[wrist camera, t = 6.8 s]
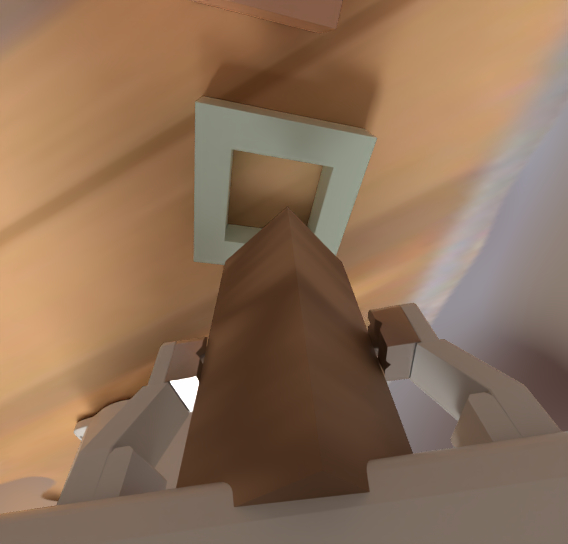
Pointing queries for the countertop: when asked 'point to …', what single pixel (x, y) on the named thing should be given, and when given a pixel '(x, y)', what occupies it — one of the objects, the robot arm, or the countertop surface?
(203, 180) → the green square frame
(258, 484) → the plug
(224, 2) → the socket block
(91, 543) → the robot arm
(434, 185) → the countertop surface
